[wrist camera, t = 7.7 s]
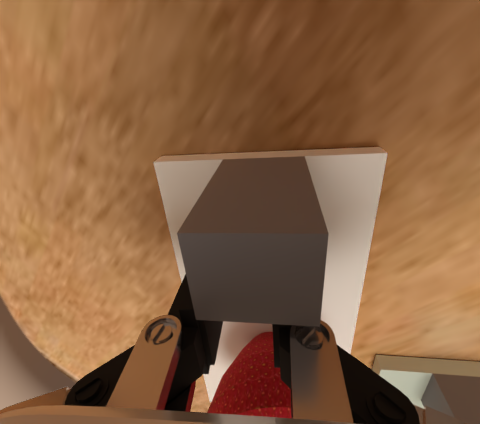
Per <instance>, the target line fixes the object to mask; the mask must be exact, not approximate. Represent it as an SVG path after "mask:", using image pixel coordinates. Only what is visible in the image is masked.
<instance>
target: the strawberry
mask: <svg viewBox="0 0 480 424" xmlns="http://www.w3.org/2000/svg"><path fill="white" fill-rule="evenodd" d="M207 413H216V414H232V415H248V416H263V417H277V418H291V396H290V388H289V387H288V386H287V385H286V384H285V383H284V382H283V381H282V380H281V377H280V368H274V349H273V332H264V333H261V334H258V335H257V336H255V337H254V338H253V339H252V340H251V341H250V342H249V343H248V344H247V345H246V346H245V347H244V348H243V349H242V350H241V352H240V353H239V354H238V356H237V357H236V358H235V360H234V361H233V362H232V364H231V365H230V366H229V368H228V369H227V370H226V372H225V373H224V374H223V376H222V378H221V380H220V383H219V385H218V387H217V390H216V392H215V395H214V397H213V400H212V402H211V405H210V407H209V410H208V412H207Z"/></svg>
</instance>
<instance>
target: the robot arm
mask: <svg viewBox="0 0 480 424" xmlns="http://www.w3.org/2000/svg"><path fill="white" fill-rule="evenodd" d="M222 325H223V321H207V320H196V317H195V313H194V308H193V303H192V299H191V294H190V290H189V285H188V281H187V276H186V274H185V276H184V279H183V281H182V283H181V286H180V288H179V290H178V292H177V295H176V297H175V299H174V302H173V304H172V306H171V309H170V311H169V313H168V315H162V316H159V317H156V318H154V319H153V320H151V321H149V322H148V323H147V324H146V325H145V327H144V328H143V330H142V331H141V333H140V335H139V338H138V340H137V342H136V344H135V345H134V346H132V347H131V348H129V349H128V350H126V351H124V352H123V353H121V354H120V355H118V356H116V357H115V358H113V359H111V360H110V361H108V362H107V363H105V364H103V365H102V366H100V367H99V368H97V369H95V370H94V371H92V372H90V373H89V374H87V375H86V376H84V377H83V378H82V379H80V380H79V381H78V382H77V383H76V384H75V385H74V386H73V387H72V388H71V389H69V388H68V387H67V386H66V387H64V388H61V389H58V390H55V391H52V392H49V393H46V394H43V395H41V396H38V397H35V398H32V399H29V400H26V401H23V402H20V403H17V404H14V405H12V406H9V407H6V408H4V409H2V410H0V424H468V423H465V422H463V421H461V420H458V419H456V418H454V417H451V416H449V415H447V414H444V413H442V412H439V411H437V410H435V409H432V408H430V407H428V406H425V407H424V409H423V408H421V407H418V406H416V405H414V404H412V402H411V401H410V400H409V398H408V397H407V396H406V395H405V394H403V393H402V392H401V391H400V390H399V389H397V388H396V387H395V386H393V385H392V384H390V383H389V382H388V381H386V380H385V379H384V378H382V377H381V376H379V375H378V374H377V373H375V372H374V371H373V370H371V369H370V368H368V367H367V366H366V365H364V364H363V363H362V362H360V361H359V360H357V359H356V358H355V357H353V356H352V355H351V354H349V353H348V352H346V351H345V350H344V349H342V348H341V347H340V346H338V345H337V344H336V339H335V335H334V333H333V330H332V329H331V327H330V326H329V325H328V324H327V323H325V322H324V321H322V320H320V327H318V326H299V325H281V324H272V329H273V349H274V368H280V377H281V380H282V381H283V382H284V383H285V384H286V385H287V386H288V387H289V388H290V396H291V418H277V417H263V416H248V415H232V414H216V413H201V412H190V409H191V405H192V400H193V395H194V390H195V383H196V380H197V379H198V378H199V377H200V376H202V374H209V369H210V365H215V361H216V356H217V351H218V346H219V340H220V335H221V330H222Z"/></svg>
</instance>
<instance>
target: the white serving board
mask: <svg viewBox="0 0 480 424" xmlns="http://www.w3.org/2000/svg"><path fill="white" fill-rule="evenodd" d="M387 154H388V153H387V152H386V151H384V150H383V149H382V148H380V147H362V148H338V149H314V150H290V151H266V152H242V153H219V154H195V155H171V156H161V157H160V158H158V159H157V160H155V161H154V162H153V163H154V167H155V171H156V176H157V180H158V184H159V188H160V193H161V197H162V201H163V205H164V210H165V214H166V218H167V222H168V227H169V231H170V235H171V239H172V244H173V248H174V252H175V256H176V260H177V265H178V269H179V273H180V277H181V282H182V281H183V279H184V276H185V274H186V276H187V281H188V285H189V290H190V294H191V299H192V303H193V308H194V313H195V317H196V320H207V321H223V325H222V330H221V335H220V340H219V346H218V351H217V356H216V361H215V365H210V369H209V374H203V375H204V379H205V383H206V388H207V392H208V396H209V400H210V402H212V400H213V397H214V395H215V392H216V390H217V387H218V385H219V383H220V380H221V378H222V376H223V374H224V373H225V372H226V370H227V369H228V368H229V366H230V365H231V364H232V362H233V361H234V360H235V358H236V357H237V356H238V354H239V353H240V352H241V350H242V349H243V348H244V347H245V346H246V345H247V344H248V343H249V342H250V341H251V340H252V339H253V338H254V337H255V336H257V335H258V334H261V333H264V332H273V329H272V324H281V325H299V326H318V327H320V320H322V321H324V322H325V323H327V324H328V325H329V326H330V327H331V329H332V330H333V333H334V335H335V339H336V344H337V345H338V346H340V347H341V348H342V349H344V350H345V351H346V352H348V353H349V354H350V353H351V348H352V342H353V337H354V332H355V326H356V321H357V316H358V310H359V305H360V299H361V294H362V289H363V283H364V278H365V273H366V267H367V262H368V256H369V251H370V246H371V240H372V235H373V230H374V224H375V219H376V213H377V208H378V203H379V197H380V192H381V187H382V181H383V176H384V170H385V165H386V160H387Z"/></svg>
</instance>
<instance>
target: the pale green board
mask: <svg viewBox="0 0 480 424" xmlns="http://www.w3.org/2000/svg"><path fill="white" fill-rule="evenodd" d="M372 370H373V371H374V372H375V373H377V374H378V375H379V376H381V377H382V378H384V379H385V380H386V381H388V382H389V383H390V384H392V385H393V386H395V387H396V388H397V389H399V390H400V391H401V392H402V393H403V394H405V395H406V396H407V397H408V398H409V400H410V401H411V402H412V404H414V405H416V406H418V407H421V408H423V409H424V407H425V406H428V407H430V408H432V409H435V410H437V411H439V412H442V413H444V414H447V415H449V416H451V417H454V418H456V419H458V420H461V421H463V422H465V423H468V424H480V362H476V361H461V360H446V359H432V358H417V357H402V356H387V355H376V356H375V360H374V364H373V367H372Z"/></svg>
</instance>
